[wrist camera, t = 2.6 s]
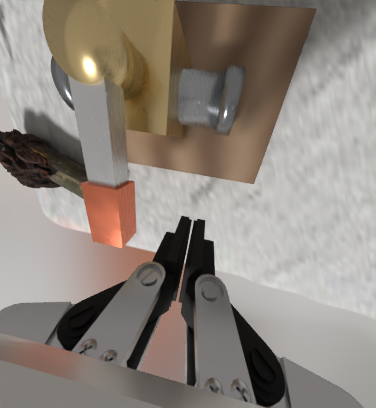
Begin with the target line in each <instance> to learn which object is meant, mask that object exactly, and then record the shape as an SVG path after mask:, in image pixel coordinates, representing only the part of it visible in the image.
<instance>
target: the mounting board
mask: <svg viewBox="0 0 376 408" xmlns="http://www.w3.org/2000/svg"><path fill="white" fill-rule="evenodd" d="M175 4H176V8H177V11H178V15H179V19H180V23H181V26H182V30H183V34H184V37H185V41H186V45H187V48H188V52H189V56H190V59H191V63H192V67H191V68H197V69H207V70H217V71H227V67H228V65H238V66H246V71H245V78H244V83H243V87H242V92H241V96H240V100H239V104H238V108H237V112H236V115H235V119H234V122H233V125H232V128H231V131H230V134H229V136H225V135H218V134H215V130H214V129H207V128H200V127H193V126H185V131H184V138H180V137H173V136H166V135H159V134H153V133H146V132H139V131H133V130H126V143H127V161H128V162H130V163H135V164H141V165H147V166H153V167H158V168H164V169H170V170H176V171H181V172H187V173H193V174H199V175H204V176H210V177H216V178H222V179H227V180H233V181H239V182H245V183H250V184H254V182H255V179H256V176H257V174H258V171H259V168H260V165H261V162H262V160H263V157H264V154H265V151H266V149H267V146H268V143H269V140H270V137H271V135H272V132H273V129H274V126H275V123H276V121H277V118H278V115H279V112H280V109H281V107H282V104H283V101H284V98H285V95H286V93H287V90H288V87H289V84H290V82H291V79H292V76H293V73H294V70H295V68H296V65H297V62H298V59H299V56H300V54H301V51H302V48H303V45H304V42H305V40H306V37H307V34H308V31H309V28H310V26H311V23H312V20H313V17H314V15H315V12H316V9H312V8H294V7H276V6H257V5H239V4H220V3H202V2H184V1H175Z"/></svg>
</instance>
